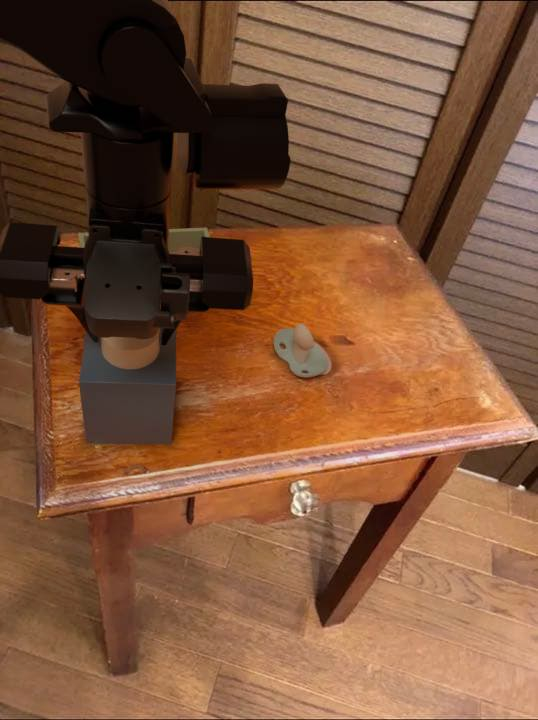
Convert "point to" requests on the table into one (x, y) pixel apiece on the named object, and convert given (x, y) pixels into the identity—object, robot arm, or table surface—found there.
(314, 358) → the pacifier
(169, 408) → the stand
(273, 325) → the table surface
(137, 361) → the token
